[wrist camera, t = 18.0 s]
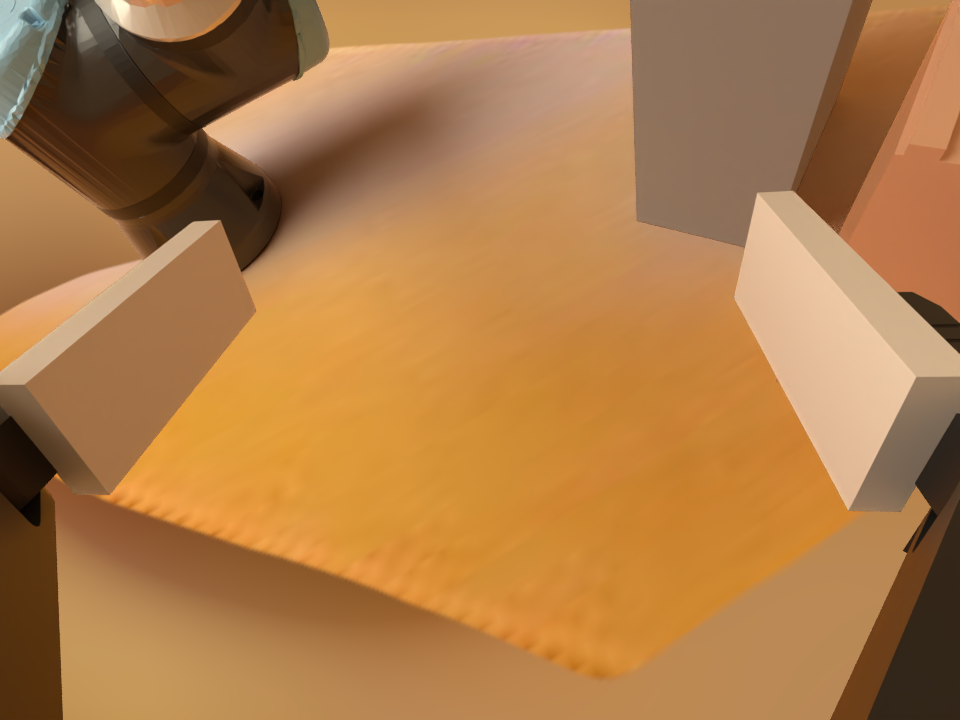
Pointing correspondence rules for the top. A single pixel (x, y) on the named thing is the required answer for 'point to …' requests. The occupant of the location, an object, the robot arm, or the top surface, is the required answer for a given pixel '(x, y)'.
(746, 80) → the slate riser
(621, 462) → the top surface
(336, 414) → the top surface
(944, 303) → the tall salmon pillar
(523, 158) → the top surface
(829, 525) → the top surface
